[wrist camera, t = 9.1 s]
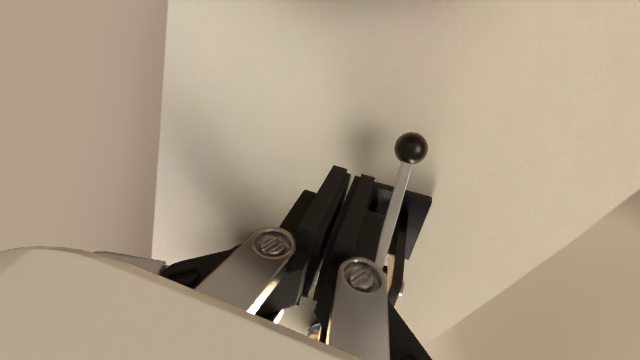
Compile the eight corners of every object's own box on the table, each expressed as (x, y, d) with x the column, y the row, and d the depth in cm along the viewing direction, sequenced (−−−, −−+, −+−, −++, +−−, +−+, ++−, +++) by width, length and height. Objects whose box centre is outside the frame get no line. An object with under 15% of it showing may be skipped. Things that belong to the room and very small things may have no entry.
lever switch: (360, 177, 39) (335, 242, 28) (431, 196, 37) (433, 273, 26) (347, 235, 44) (321, 308, 33) (408, 254, 42) (402, 337, 32)
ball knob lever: (398, 131, 32) (400, 127, 29) (429, 138, 31) (434, 134, 28) (356, 281, 33) (353, 292, 30) (385, 290, 33) (385, 303, 30)
